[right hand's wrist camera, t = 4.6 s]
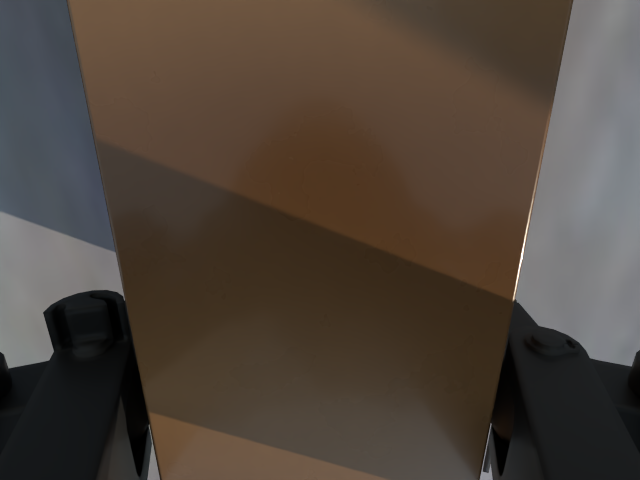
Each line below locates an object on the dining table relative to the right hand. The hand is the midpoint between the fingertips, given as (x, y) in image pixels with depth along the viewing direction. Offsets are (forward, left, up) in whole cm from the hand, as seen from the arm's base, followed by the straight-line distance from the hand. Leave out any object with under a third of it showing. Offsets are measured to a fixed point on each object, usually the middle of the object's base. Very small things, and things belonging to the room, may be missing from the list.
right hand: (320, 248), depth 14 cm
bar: (+2, +9, -1) cm, 9 cm away
